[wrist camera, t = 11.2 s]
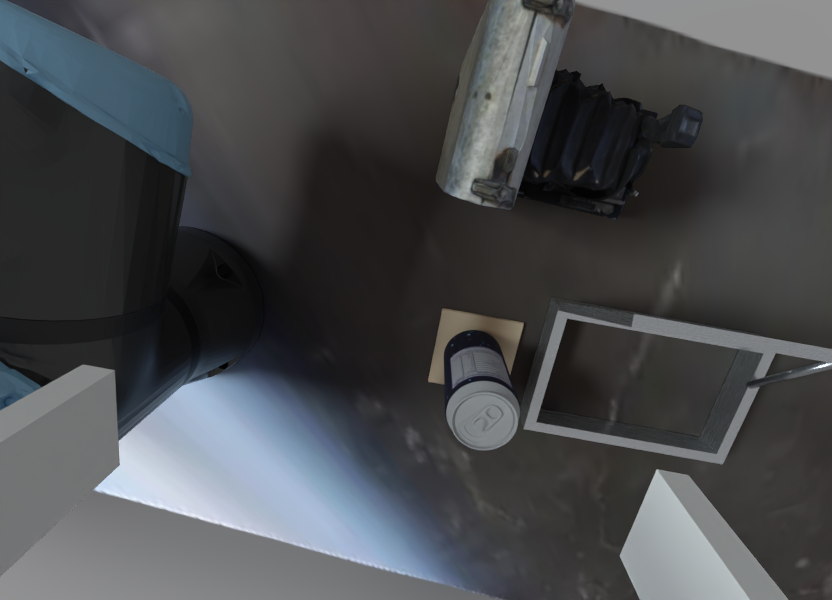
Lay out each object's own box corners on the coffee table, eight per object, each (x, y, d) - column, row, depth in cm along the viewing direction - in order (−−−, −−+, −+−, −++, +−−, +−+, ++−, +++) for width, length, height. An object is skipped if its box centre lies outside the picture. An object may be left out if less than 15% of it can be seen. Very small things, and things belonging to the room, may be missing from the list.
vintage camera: (596, 223, 39) (765, 274, 20) (431, 183, 38) (441, 198, 19) (635, 110, 36) (878, 44, 17) (459, 65, 35) (503, -59, 16)
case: (518, 413, 44) (557, 535, 30) (562, 258, 39) (635, 315, 25) (705, 446, 44) (837, 585, 30) (773, 296, 39) (973, 375, 25)
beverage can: (431, 354, 42) (429, 424, 31) (470, 315, 41) (483, 372, 30) (473, 388, 43) (485, 468, 32) (512, 351, 42) (540, 420, 30)
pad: (428, 379, 44) (428, 381, 43) (442, 307, 41) (442, 309, 41) (504, 393, 44) (504, 395, 43) (523, 322, 41) (523, 323, 41)
